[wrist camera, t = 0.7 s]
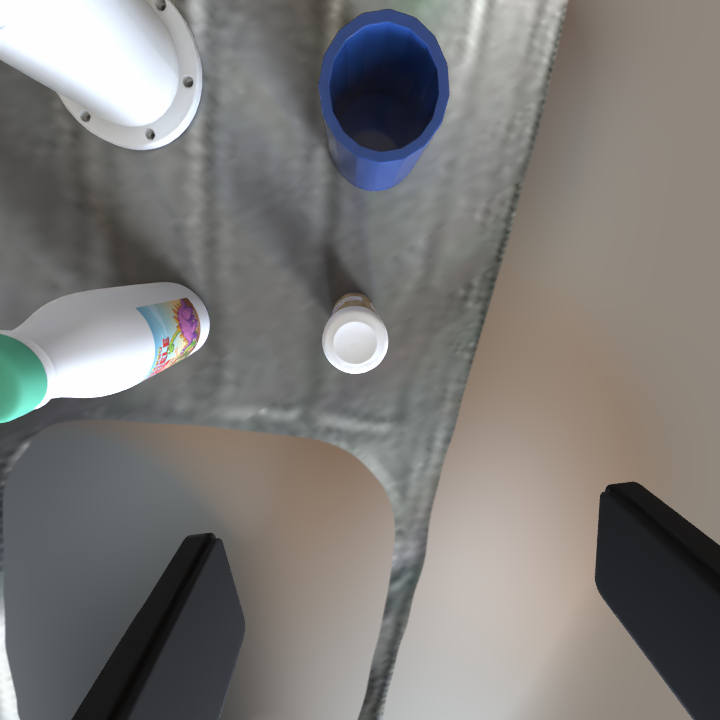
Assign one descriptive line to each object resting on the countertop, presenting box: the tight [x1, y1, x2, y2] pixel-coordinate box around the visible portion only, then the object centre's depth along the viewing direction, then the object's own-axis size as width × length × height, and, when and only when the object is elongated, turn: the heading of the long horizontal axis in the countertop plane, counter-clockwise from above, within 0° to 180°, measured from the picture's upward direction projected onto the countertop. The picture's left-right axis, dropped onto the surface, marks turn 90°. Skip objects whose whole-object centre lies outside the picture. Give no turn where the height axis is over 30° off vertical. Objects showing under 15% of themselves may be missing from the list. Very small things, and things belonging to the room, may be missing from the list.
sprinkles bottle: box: [322, 293, 388, 373], centre depth 30 cm, size 5×5×13 cm
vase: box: [318, 9, 449, 191], centre depth 27 cm, size 8×8×10 cm
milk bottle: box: [0, 282, 210, 423], centre depth 27 cm, size 8×8×20 cm
